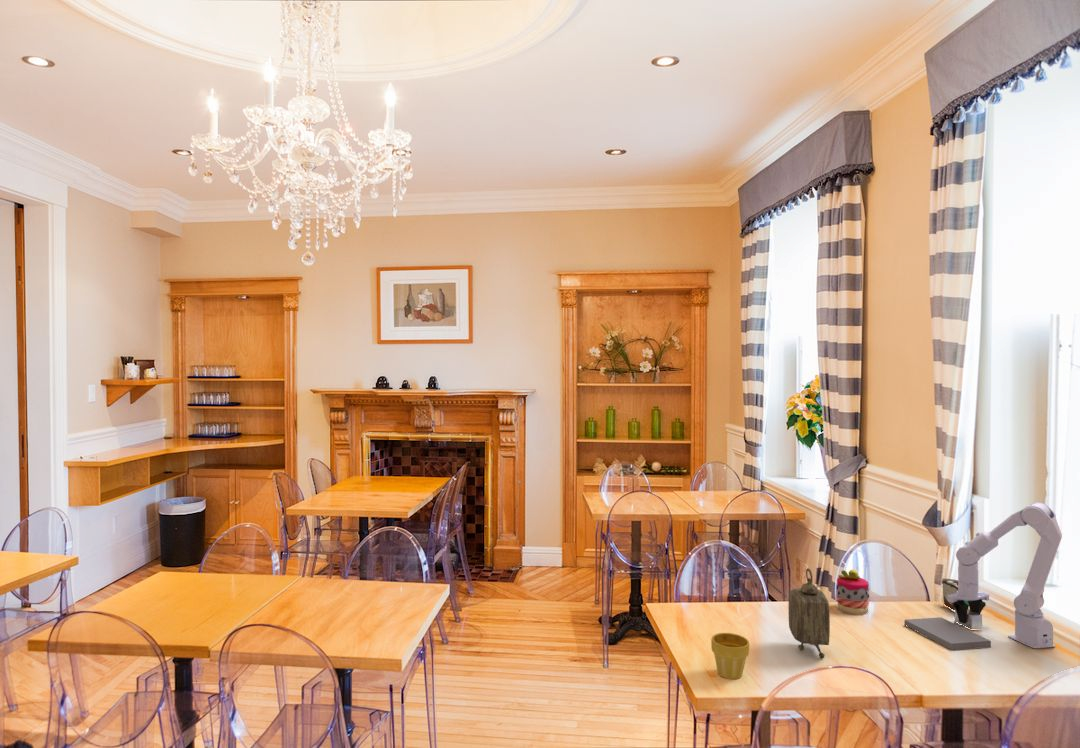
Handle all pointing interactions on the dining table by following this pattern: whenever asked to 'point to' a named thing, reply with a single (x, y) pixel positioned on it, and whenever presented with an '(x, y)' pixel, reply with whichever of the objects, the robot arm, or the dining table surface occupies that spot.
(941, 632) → the grey flat block
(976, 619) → the housing
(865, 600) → the cake
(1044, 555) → the robot arm
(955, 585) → the food container
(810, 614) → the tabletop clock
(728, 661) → the plant pot
